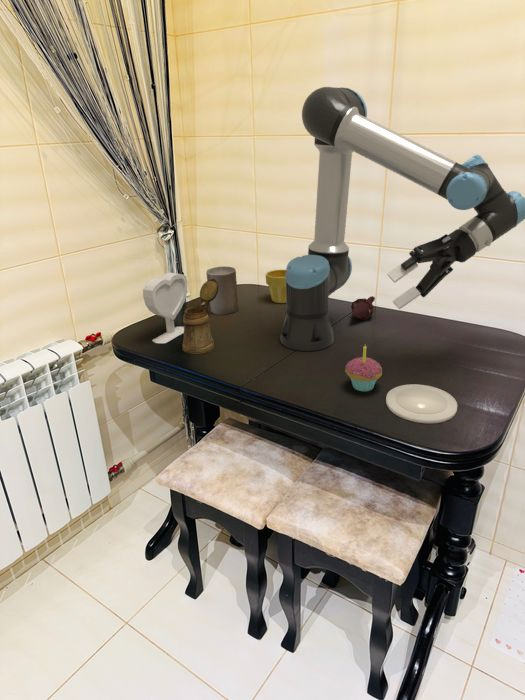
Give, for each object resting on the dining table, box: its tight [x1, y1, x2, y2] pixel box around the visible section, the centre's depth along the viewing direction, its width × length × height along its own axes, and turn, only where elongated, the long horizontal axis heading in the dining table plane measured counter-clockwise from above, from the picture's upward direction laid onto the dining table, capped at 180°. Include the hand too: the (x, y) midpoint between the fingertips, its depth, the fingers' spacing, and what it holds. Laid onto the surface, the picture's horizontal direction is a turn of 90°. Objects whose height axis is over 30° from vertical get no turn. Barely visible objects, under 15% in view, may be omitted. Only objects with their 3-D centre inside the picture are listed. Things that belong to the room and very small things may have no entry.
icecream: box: [350, 295, 376, 321], centre depth 158 cm, size 7×7×15 cm
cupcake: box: [344, 343, 383, 392], centre depth 117 cm, size 9×8×12 cm
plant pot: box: [265, 268, 286, 304], centre depth 175 cm, size 10×10×10 cm
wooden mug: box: [181, 278, 219, 355], centre depth 140 cm, size 9×14×18 cm, turn 146°
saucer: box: [385, 383, 458, 425], centre depth 112 cm, size 15×15×1 cm
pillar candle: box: [206, 266, 239, 316], centre depth 167 cm, size 10×10×15 cm
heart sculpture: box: [142, 272, 188, 344], centre depth 148 cm, size 16×5×18 cm, turn 150°
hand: (393, 292), depth 122 cm, fingers open, 13 cm apart
